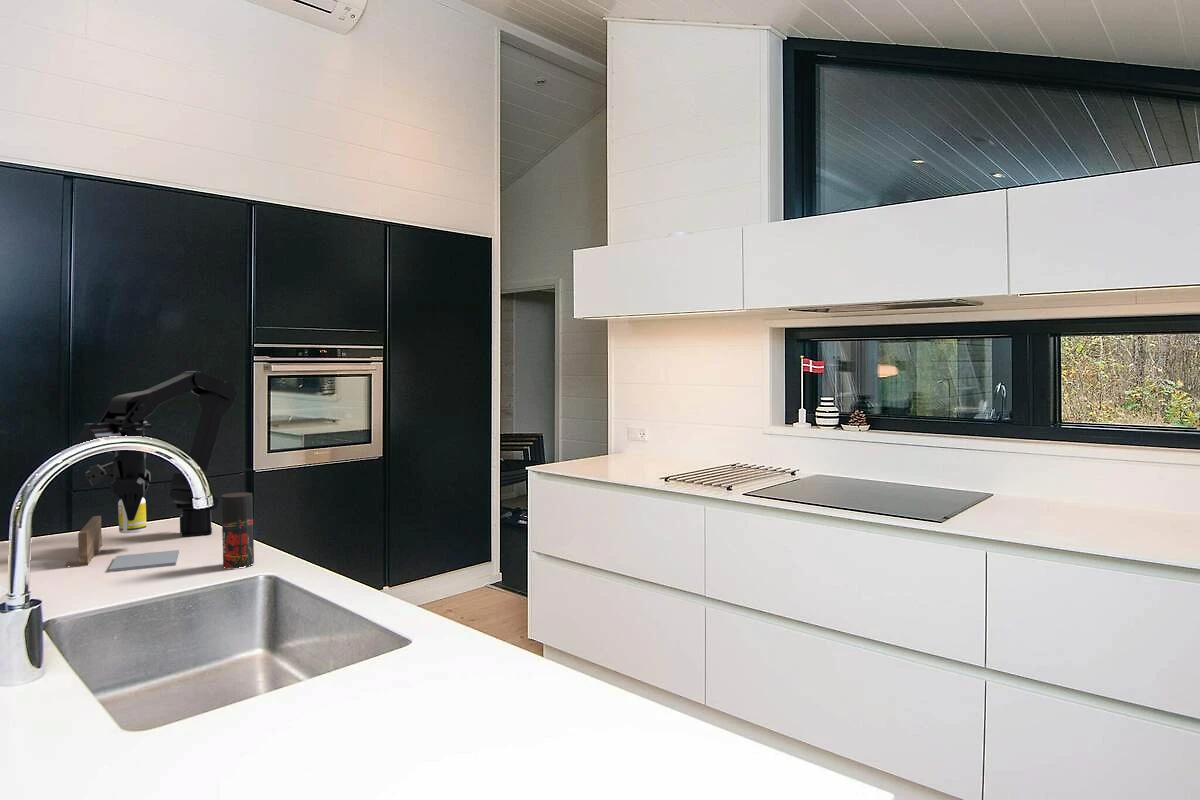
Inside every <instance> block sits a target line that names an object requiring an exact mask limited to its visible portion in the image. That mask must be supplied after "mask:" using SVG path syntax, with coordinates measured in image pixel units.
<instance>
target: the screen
mask: <svg viewBox="0 0 1200 800" xmlns="http://www.w3.org/2000/svg"><path fill="white" fill-rule="evenodd" d="M102 534H103V533H102V515H94V516H92V517H91V518H90V519H89V521H88V522H86V523H85V525H84V526H83V527H82V529H80V531H79V532H78V533H77V538H78V539H77V540H78V543H77V544H78V560H71V561H66V562H65V564H64V568H65V567H66V568H69V567H68V566H76V567H79V566H78V565H87V566H89V565H90V563H91V561H92V560H93V559H92V558H94V557H95V556H96V554H97V553H98V552H99V550H100V549H101V547H102V546H103V541H102V539H103V538H102V537H103V536H102ZM99 548H100V549H99ZM96 552H97V553H96ZM94 555H95V556H94ZM91 559H92V560H91ZM89 562H90V563H89ZM88 564H89V565H88Z"/></svg>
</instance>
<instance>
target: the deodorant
mask: <svg viewBox="0 0 1200 800" xmlns="http://www.w3.org/2000/svg"><path fill="white" fill-rule="evenodd" d="M253 505H254V503H253V493H252V492H231V493H229V492H228V493H224V494H222V495H221V526H222V527H221V530H222V531H221V534H222V535H221V536H222V566H223V567H222V568H224V567H225V568H224V569H226V568H239V567H244V566H249V565H251V564H253V563H254V564H255V552H254V551H255V546H254V545H255V544H254V507H253Z"/></svg>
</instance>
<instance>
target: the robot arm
mask: <svg viewBox="0 0 1200 800" xmlns="http://www.w3.org/2000/svg"><path fill="white" fill-rule="evenodd" d="M188 392H191V393H192V394H194V395H197V396H198V406H199V408H200V411H201V413H200V417H199V420H198V424H197V428H196V431H195V434H194V437H193V441H192V443H191V448H190V452H189V454H188V457H189V456H191V457H192V458H193V459H194V460H195V461H196V462H197V463H198V464H199V466H200V467H201V468H202V470H203V471H204V473H205V475H206V476H207V478H208V480H209V483H210V484H211V480H210V476H209V474H208V473H209V472H208V471H209V470H208V469H209V466H210V463H211V459H212V455H213V452H214V448H215V445H216V442H217V438H218V435H219V430H220V427H221V424H222V420H223V418H224V416H226V414H227V413H228V412H229V411H230V410H231V409H233V408H232V407H233V405H234V403H235V401H236V398H237V395H238V390H237V389H236V386H235V385H234V384H233V382H230V381H224V380H221V379H219V378H216V377H213V376H210V375H207V374H206V373H204V372H202V371H199V370H186V371H183V372H182V373H181V374H179V375H176V376H175V377H173V378H172V377H171V378H170V379H168V380H165V381H163V382H161V383H159V384H155V385H154V386H151V387H150V388H147V389H145V390H140V391H134V392H129V393H128V392H127V393H123V394H119V395H116V396H113V398H111V399H110V401H109V402H110V403H109V405H108V408H107V409H106V411H105V413H104V414H103V416H102V417H101V418H100V420H99V421H98V423H84V424H83V429H82V430H81V431H80V433H79V435H78V438H77V439H76V440H77V441H76V442H77V445H78V444H80V443H83V442H86V441H90V440H93V439H97V438H102V437H109V436H125V435H127V436H142V437H145V430H152V429H154V426H153V425H152V424H151V423H149V422H148V421H147V420H146V418H148V417H149V416H151V415H152V414H153V413H155V410H156V409H157V408H158V407H159V406H161V405H163V404H164V403H167V402H169V401H171V400H173V399H175V398H177V397H180V396H181V395H184V394H186V393H188ZM109 453H110V454H111V453H112V452H108V453H107V454H109ZM146 458H147V452H146V451H145V452H139V451H115V456H113V457H112V461H111V462H109V463H106V464H103V465H100V464H99V463H98V464H96V465H92V466H90V467H89V470H87V471H86V472H85V475H86V479H87V480H88V481H89V483H90V486H95V485H97V484H99V483H102V482H104V481H106V480H109V479H111V478H112V479H113V480H114V481H112V482H111V483H110V485H109V487H110V490H109V492H110V494H113V495H115V496H117V497H118V498H119V499H120V500H121V499H122V502H123V505H124V508H125V511H126V515H127V518H128V520H129V521H132V520H134V519H135V516H136V513H137V511H138V508H139V505H140V503H141V500H142V498H144V499H145V495H146V493H147V491H148V488H149V486H150V483H149V482H151V478H152V477H151V471H149V470H148V469H146ZM171 478H172V479H171V483H170V485H169V486H168V489H169V497H170V499H171V500H172V502H173V504H174V506H175V509H176V510H181V515H180V516H179V532H180V533H179V534H181V537H194V536H202V535H205V536H206V535H212V533H213V527H212V510H215V509H217V508H218V505H219V499H218V498H217V497H216V496H215V495H214V494H213V498H214V506H213V507H212V508H210V509H205V510H195V509H193V507H192V497H191V493H190V489H189V486H188V484H187V482H186V480H185V478H184V477H183V476H182V474H181V472H179V471H177V472H174V473H173V475H172V477H171ZM145 481H146V482H145ZM147 482H148V483H147Z"/></svg>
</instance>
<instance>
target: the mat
mask: <svg viewBox="0 0 1200 800" xmlns="http://www.w3.org/2000/svg"><path fill="white" fill-rule="evenodd" d="M179 555H180V549H175V550H163V551H155V552H154V551H153V552H143V553H133V554H132V553H131V554H123V555H122V554H121V555H116V556H115V558H114V559H113V561H112V563H111V565H110V566H109V568H108V572H109V573H111V572H110V571H113V572H121V571H122V570H123V571H130V570H131V571H132V570H140V569H141V570H142V569H152V568H160V567H169V566H170V567H172V566H176V565H177V562H178V558H179ZM120 570H121V571H120Z"/></svg>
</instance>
